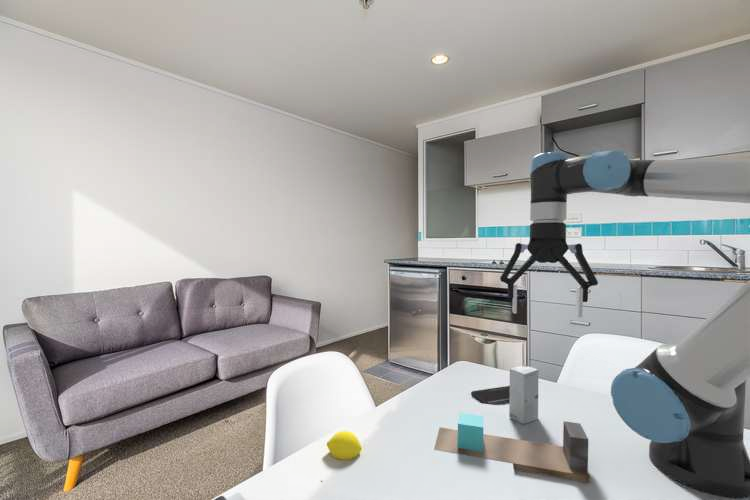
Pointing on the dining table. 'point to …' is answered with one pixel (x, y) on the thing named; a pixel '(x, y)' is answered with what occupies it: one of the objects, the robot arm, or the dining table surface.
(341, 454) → the lemon
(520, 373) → the skincare box
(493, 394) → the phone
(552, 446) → the walnut strip
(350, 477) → the dining table surface
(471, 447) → the teal block
